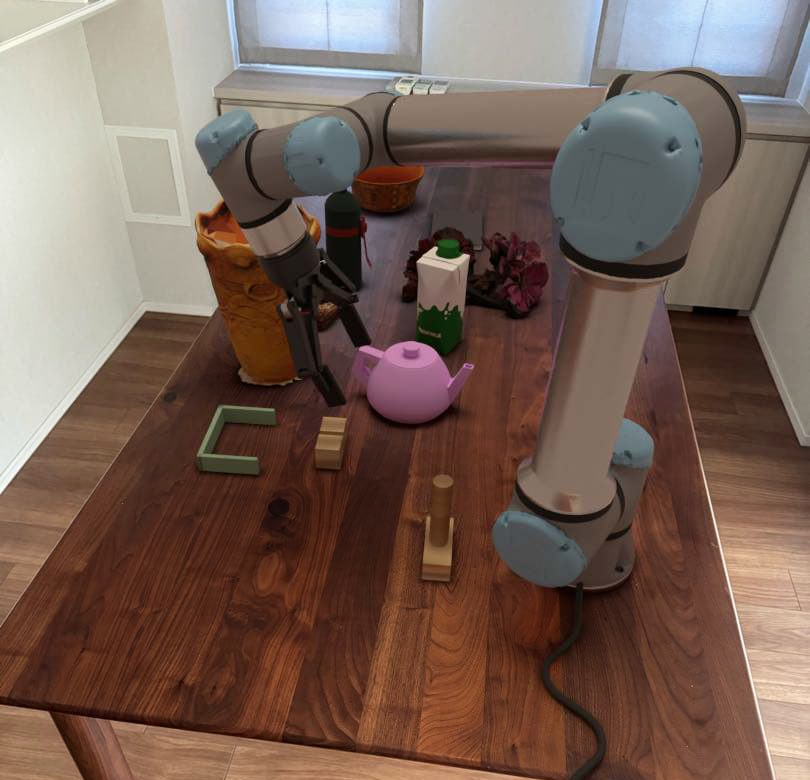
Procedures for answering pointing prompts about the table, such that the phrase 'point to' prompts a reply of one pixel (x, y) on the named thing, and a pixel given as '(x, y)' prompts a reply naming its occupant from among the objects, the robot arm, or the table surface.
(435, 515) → the peg on base
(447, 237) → the flower arrangement
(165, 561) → the table surface
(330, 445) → the cube
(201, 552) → the table surface
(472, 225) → the notebook
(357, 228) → the wine bottle
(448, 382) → the teapot
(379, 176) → the bowl
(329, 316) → the pastry
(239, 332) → the vase
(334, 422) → the cube
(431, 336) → the soya milk
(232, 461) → the frame
